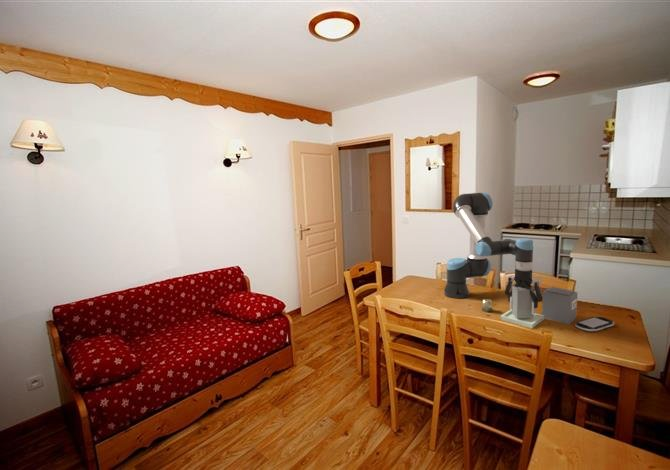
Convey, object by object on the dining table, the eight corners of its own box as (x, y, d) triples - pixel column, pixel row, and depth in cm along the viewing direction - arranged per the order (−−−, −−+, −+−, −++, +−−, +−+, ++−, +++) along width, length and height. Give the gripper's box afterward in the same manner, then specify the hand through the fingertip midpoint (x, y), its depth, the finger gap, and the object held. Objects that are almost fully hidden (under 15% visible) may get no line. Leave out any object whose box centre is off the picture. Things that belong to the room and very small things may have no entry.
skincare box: (527, 313, 168) (528, 284, 165) (534, 318, 161) (535, 288, 158) (510, 313, 168) (511, 284, 166) (516, 319, 161) (517, 289, 159)
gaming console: (590, 335, 146) (591, 329, 145) (570, 327, 154) (570, 322, 154) (618, 326, 152) (618, 321, 152) (597, 319, 160) (597, 314, 160)
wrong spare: (480, 310, 179) (480, 300, 178) (484, 308, 182) (484, 298, 181) (489, 313, 175) (489, 302, 174) (493, 310, 178) (493, 300, 177)
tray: (500, 319, 166) (500, 315, 166) (513, 311, 175) (513, 307, 175) (532, 328, 154) (532, 324, 154) (544, 319, 163) (544, 315, 163)
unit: (541, 317, 165) (543, 290, 163) (549, 311, 171) (550, 285, 169) (570, 324, 156) (571, 296, 154) (577, 318, 162) (578, 291, 160)
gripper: (497, 266, 167) (496, 307, 171) (545, 274, 150) (543, 319, 153) (504, 264, 172) (503, 303, 175) (551, 271, 154) (549, 314, 158)
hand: (522, 310), depth 164 cm, fingers closed on skincare box, 10 cm apart
